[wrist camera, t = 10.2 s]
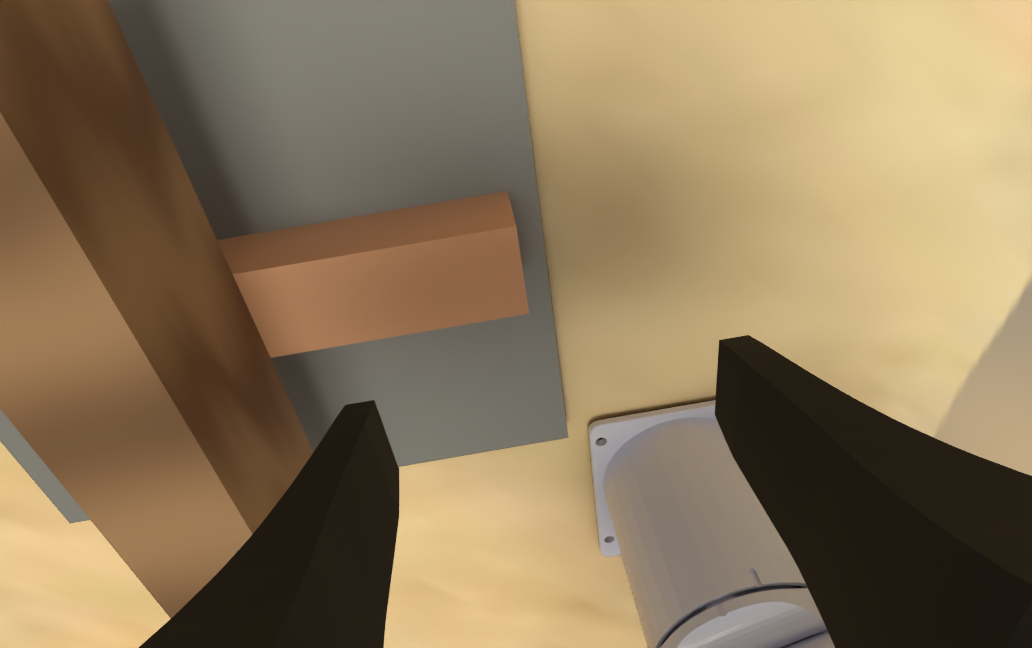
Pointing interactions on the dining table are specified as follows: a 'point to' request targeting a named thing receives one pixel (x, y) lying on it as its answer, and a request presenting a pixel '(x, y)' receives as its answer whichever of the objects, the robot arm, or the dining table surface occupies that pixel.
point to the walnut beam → (127, 311)
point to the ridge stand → (365, 209)
